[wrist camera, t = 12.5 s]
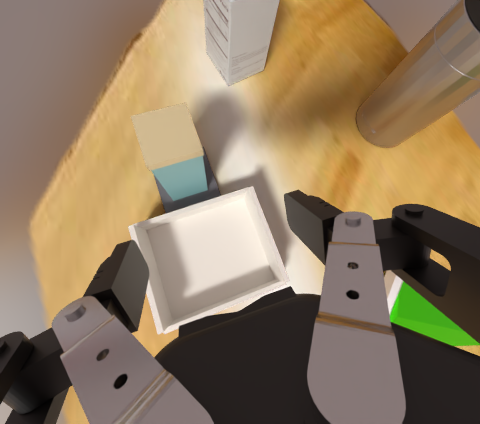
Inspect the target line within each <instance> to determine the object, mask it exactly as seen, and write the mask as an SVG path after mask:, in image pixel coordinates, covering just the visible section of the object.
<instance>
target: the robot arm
mask: <svg viewBox="0 0 480 424" xmlns="http://www.w3.org/2000/svg"><path fill="white" fill-rule="evenodd" d="M479 92H480V0H457V1H456V2H455V3H454V4H453V5H452V6H451V8H450V9H449V10H448V11H447V12H446V13H445V14H444V15H443V16H442V17H441V19H440V20H439V21H438V22H437V23H436V24H435V25H434V26H433V27H432V29H431V30H430V31H429V32H428V33H427V34H426V35H425V36H424V37H423V38H422V39H421V41H420V42H419V43H418V44H417V45H416V46H415V47H414V48H413V49H412V50H411V52H410V53H409V54H408V55H407V56H406V57H405V58H404V59H403V60H402V61H401V62H400V64H399V65H398V66H397V67H396V68H395V69H394V70H393V71H392V72H391V73H390V74H389V76H388V77H387V78H386V79H385V80H384V81H383V82H382V83H381V84H380V85H379V87H378V88H377V89H376V90H375V91H374V92H373V93H372V94H371V95H370V96H369V97H368V98H367V100H366V101H365V102H364V103H363V104H362V105H361V106H360V108H359V109H358V112H357V115H356V121H357V126H358V128H359V131H360V132H361V134H362V135H363V136H364V137H365V138H366V139H367V140H368V141H369V142H371V143H372V144H374V145H376V146H380V147H385V148H390V147H395V146H397V145H399V144H400V143H402V142H404V141H405V140H407V139H408V138H410V137H411V136H413V135H415V134H416V133H418V132H419V131H421V130H422V129H424V128H426V127H427V126H429V125H430V124H432V123H433V122H435V121H436V120H438V119H439V118H441V117H443V116H444V115H446V114H447V113H449V112H450V111H452V110H453V109H455V108H456V107H458V106H459V105H461V104H463V103H464V102H465V101H467V100H469V99H470V98H472V97H473V96H475V95H476V94H478V93H479ZM284 201H285V207H286V214H287V221H288V224H289V227H290V228H291V230H292V231H293V232H294V233H295V234H296V235H297V236H298V237H299V239H300V240H301V241H302V242H303V243H304V244H305V245H306V246H307V247H308V248H309V249H310V250H311V251H312V252H313V253H314V254H315V255H316V256H317V258H318V259H319V260H320V261H321V262H322V263H323V264H324V265H325V273H324V279H323V286H322V293H321V295H315V294H295V292H294V291H293V289H292V287H291V286H290V287H287V288H284V289H282V290H279V291H276V292H273V293H270V294H268V295H265V296H263V297H261V298H260V299H258V300H257V301H255V302H253V303H252V304H250V305H248V306H247V307H245V308H244V309H242V310H240V311H238V312H233V313H225V314H218V315H210V316H206V317H203V318H200V319H197V320H194V321H192V322H189V323H186V324H183V325H180V326H179V337H177V338H176V339H174V340H173V341H172V342H170V343H169V344H168V345H166V346H165V347H164V348H163V349H162V350H161V351H160V352H159V353H158V354H157V355H156V356H155V357H153V356H152V355H151V354H150V353H149V352H148V351H147V350H146V349H145V348H144V347H143V345H142V344H141V343H140V342H139V341H138V340H137V339H136V338H135V337H134V336H133V335H132V334H131V333H133V332H135V331H138V327H139V323H140V318H141V313H142V308H143V304H144V299H145V294H146V290H147V285H148V280H149V268H148V265H147V263H146V261H145V259H144V257H143V255H142V253H141V251H140V249H139V247H138V245H137V243H136V242H135V241H134V240H130V241H127V242H124V243H120V244H117V245H116V247H115V249H114V251H113V253H112V255H111V256H110V257H108V258H107V259H106V260H105V261H104V262H103V263H102V264H101V265H100V267H99V269H98V270H97V272H96V273H97V274H95V276H94V278H93V280H92V281H91V283H90V285H89V287H88V288H87V290H86V292H85V294H84V295H83V297H82V298H80V299H77V300H75V301H73V302H72V303H70V304H69V305H67V306H66V307H65V308H63V309H62V310H61V311H60V312H59V313H58V314H57V315H56V317H55V318H54V320H53V322H52V328H50V329H48V330H46V331H44V332H42V333H41V334H39V335H37V336H35V337H33V338H31V339H28V338H27V337H26V336H25V335H24V334H23V333H22V332H13V333H10V334H7V335H5V336H3V337H1V338H0V404H1V403H2V401H3V402H5V403H6V404H7V405H8V406H10V407H11V408H12V409H13V410H12V412H11V414H10V416H9V417H8V419H7V421H6V423H5V424H56V422H57V419H58V416H59V414H60V411H61V408H62V406H63V403H64V400H65V397H66V395H67V392H68V389H69V387H70V386H72V385H73V387H74V389H75V392H76V394H77V396H78V399H79V401H80V403H81V405H82V408H83V410H84V412H85V414H86V417H87V419H88V421H89V423H90V424H480V356H478V355H475V354H472V353H470V352H467V351H465V350H462V349H460V348H457V347H454V346H452V345H449V344H447V343H444V342H442V341H439V340H436V339H434V338H431V337H429V336H426V335H424V334H421V333H418V332H416V331H413V330H411V329H408V328H406V327H403V326H400V325H398V324H395V323H393V322H390V315H389V309H388V302H387V295H386V289H385V282H384V275H383V271H386V270H391V271H392V272H393V273H394V274H395V275H397V276H398V277H399V278H400V279H401V280H403V281H404V282H405V283H406V284H408V285H409V286H410V287H411V288H412V289H414V290H415V291H416V292H417V293H418V294H420V295H421V296H422V297H423V298H425V299H426V300H427V301H428V302H429V303H431V304H432V305H433V306H434V307H435V308H437V309H438V310H439V311H440V312H442V313H443V314H444V315H445V316H446V317H448V318H449V319H450V320H451V321H452V322H454V323H455V324H456V325H457V326H459V327H460V328H461V329H462V330H463V331H465V332H466V333H467V334H468V335H470V336H471V337H472V338H473V339H474V340H476V341H477V342H478V343H479V344H480V227H477V226H475V225H472V224H470V223H467V222H465V221H462V220H460V219H458V218H455V217H453V216H450V215H448V214H445V213H443V212H440V211H438V210H436V209H433V208H431V207H428V206H424V205H419V204H404V205H399V206H396V207H395V208H393V210H392V218H387V219H379V220H373V219H372V217H371V216H369V215H368V214H365V213H362V212H345V213H344V212H342V211H341V210H339V209H337V208H336V207H334V206H332V205H330V204H329V203H327V202H325V201H324V200H322V199H321V198H319V197H315V196H311V195H310V196H307V195H306V194H304V193H303V192H301V191H300V190H296V191H293V192H289V193H286V194H285V195H284ZM431 249H433V250H434V251H436V252H438V253H439V254H441V255H443V256H444V257H445V258H446V259H447V260H448V262H449V263H450V266H451V271H449V270H448V269H446V268H445V267H443V266H442V265H440V264H438V263H437V262H435V261H434V260H432V259H430V252H431Z"/></svg>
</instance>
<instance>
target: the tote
mask: <svg viewBox="0 0 480 424" xmlns="http://www.w3.org/2000/svg"><path fill="white" fill-rule="evenodd" d="M128 228H129V231H130V235H131V239H132V240H134V241H135V242H136V243H137V245H138V247H139V249H140V251H141V253H142V255H143V257H144V259H145V261H146V263H147V265H148V268H149V280H148V285H147V290H146V293H147V297H148V300H149V304H150V307H151V311H152V315H153V318H154V322H155V326H156V329H157V333H158V334H161V333H163V332H164V334H166V333H169V332H171V331H174V330H176V329H179V326H180V325H183V324H186V323H189V322H192V321H194V320H197V319H200V318H203V317H206V316H210V315H213V314H215V313H218V312H220V311H222V310H225V309H227V308H230V307H232V306H235V305H237V304H240V303H242V302H244V301H247V300H249V299H252V298H254V297H257V296H259V295H262V294H264V293H266V292H269V291H271V290H274V289H276V288H279V287H281V286H283V285H286V282H288V281H290V280H289V277H288V275H287V272H286V269H285V267H284V264H283V262H282V259H281V257H280V254H279V252H278V249H277V246H276V244H275V241H274V239H273V236H272V234H271V231H270V229H269V226H268V223H267V221H266V218H265V216H264V213H263V211H262V208H261V206H260V203H259V200H258V198H257V195H256V193H255V190H254V188H253V186H251V187H247V188H244V189H241V190H238V191H235V192H231V193H228V194H225V195H222V196H219V197H216V198H213V199H210V200H207V201H204V202H201V203H197V204H194V205H191V206H188V207H185V208H182V209H179V210H176V211H173V212H170V213H166V214H163V215H160V216H157V217H154V218H151V219H148V220H145V221H142V222H139V223H136V224H133V225H131V226H128Z"/></svg>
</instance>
